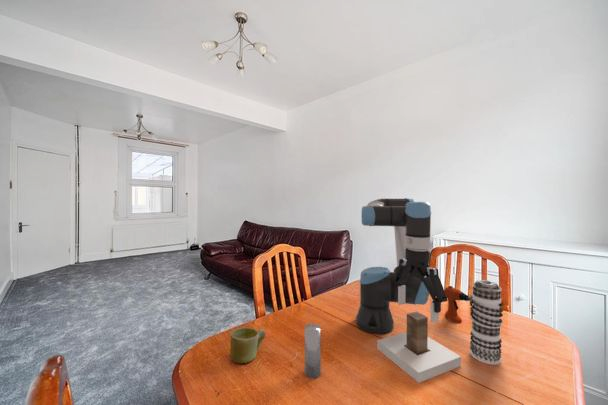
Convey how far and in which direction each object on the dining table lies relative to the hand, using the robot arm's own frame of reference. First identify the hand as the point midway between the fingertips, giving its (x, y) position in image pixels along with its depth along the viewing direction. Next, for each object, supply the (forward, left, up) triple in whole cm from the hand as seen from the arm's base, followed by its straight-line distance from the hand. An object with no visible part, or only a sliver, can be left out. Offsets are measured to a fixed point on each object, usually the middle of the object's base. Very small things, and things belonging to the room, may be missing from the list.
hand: (416, 312), depth 86 cm
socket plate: (0, 0, -15) cm, 15 cm away
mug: (-24, -51, -15) cm, 58 cm away
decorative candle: (+9, +21, -15) cm, 27 cm away
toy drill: (-9, +34, -15) cm, 38 cm away
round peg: (-7, -35, -15) cm, 39 cm away
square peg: (0, 0, -15) cm, 15 cm away
